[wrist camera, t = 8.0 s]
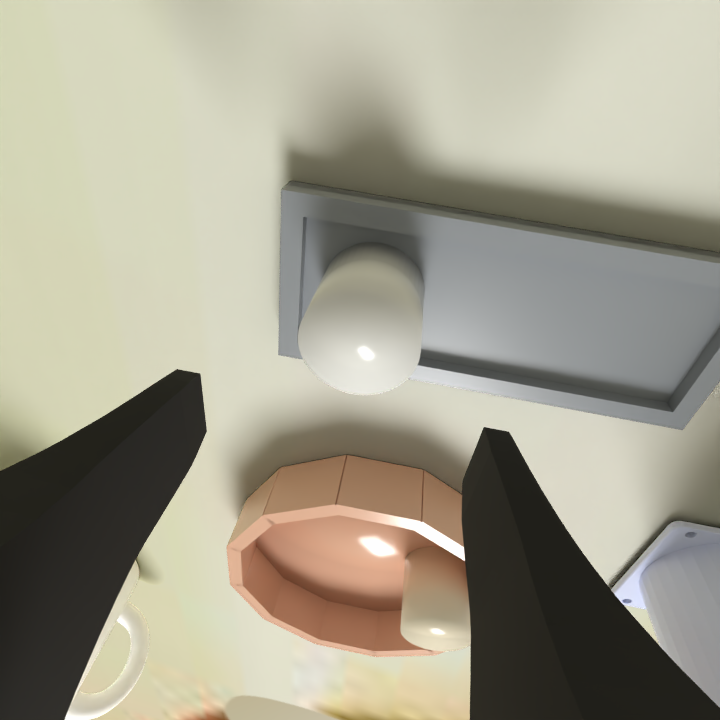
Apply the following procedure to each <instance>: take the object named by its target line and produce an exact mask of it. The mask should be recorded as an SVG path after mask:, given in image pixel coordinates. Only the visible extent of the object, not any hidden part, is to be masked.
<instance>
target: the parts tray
mask: <svg viewBox="0 0 720 720" xmlns="http://www.w3.org/2000/svg"><path fill="white" fill-rule="evenodd" d="M365 242H377V243H383V244H387V245H390V246H393V247H395V248H397V249H399V250H401V251H402V252H404V253H405V254H406V255H408V256H409V257H410V258H411V259H412V260H413V262H414V263H415V264H416V266H417V267H418V269H419V270H420V273H421V275H422V278H423V281H424V288H425V290H424V309H423V325H422V341H421V353H420V359H419V362H418V365H417V367H416V369H415V371H414V372H413V373H412V375H411V376H410V377H409V378H408V379H410V380H416V381H421V382H427V383H432V384H437V385H443V386H448V387H454V388H459V389H464V390H470V391H475V392H480V393H486V394H491V395H497V396H502V397H507V398H513V399H518V400H523V401H529V402H534V403H540V404H545V405H550V406H556V407H561V408H566V409H572V410H577V411H583V412H588V413H593V414H599V415H604V416H610V417H615V418H620V419H626V420H631V421H636V422H642V423H647V424H653V425H658V426H663V427H669V428H674V429H679V430H683V429H684V427H685V426H686V425H687V423H688V422H689V421H690V420H691V418H692V417H693V416H694V414H695V413H696V412H697V410H698V409H699V408H700V406H701V405H702V404H703V403H704V401H705V400H706V399H707V397H708V396H709V395H710V393H711V392H712V391H713V389H714V388H715V387H716V385H717V384H718V383H719V382H720V253H719V252H713V251H707V250H701V249H695V248H689V247H683V246H677V245H671V244H665V243H659V242H653V241H648V240H642V239H636V238H630V237H624V236H618V235H612V234H606V233H600V232H594V231H588V230H582V229H576V228H570V227H564V226H558V225H552V224H546V223H540V222H534V221H528V220H522V219H517V218H511V217H505V216H499V215H493V214H487V213H481V212H475V211H469V210H463V209H457V208H451V207H445V206H439V205H433V204H427V203H421V202H415V201H409V200H403V199H397V198H391V197H386V196H380V195H374V194H368V193H362V192H356V191H350V190H344V189H338V188H332V187H326V186H320V185H314V184H308V183H302V182H296V181H290V182H289V183H288V184H287V185H286V186H285V187H284V188H283V189H282V190H281V241H280V296H279V350H278V355H281V356H287V357H292V358H298V359H303V358H302V356H301V353H300V350H299V345H298V331H299V327H300V323H301V321H302V319H303V317H304V315H305V313H306V311H307V309H308V307H309V305H310V303H311V300H312V298H313V296H314V294H315V292H316V290H317V288H318V286H319V284H320V282H321V280H322V278H323V276H324V274H325V272H326V270H327V268H328V266H329V264H330V263H331V261H332V260H333V259H334V258H335V257H336V255H338V254H339V253H340V252H341V251H343V250H344V249H346V248H348V247H350V246H353V245H356V244H359V243H365Z"/></svg>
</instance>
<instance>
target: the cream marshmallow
mask: <svg viewBox="0 0 720 720" xmlns="http://www.w3.org/2000/svg"><path fill="white" fill-rule="evenodd" d="M400 631H401V634H402V636H403V637H404V638H405V639H406V640H407V641H409V642H410V643H412V644H414V645H416V646H418V647H421V648H424V649H429V650H434V651H456V650H460V649H464V648H466V647H468V646H470V645H471V626H470V608H469V597H468V587H467V576H466V565H465V561H464V560H462V559H461V558H459V557H457V556H456V555H454V554H453V553H451V552H449V551H448V550H446V549H444V548H443V547H423V548H419V549H416V550H414V551H412V552H410V553H409V554H408V555H407V557H406V558H405V566H404V581H403V597H402V612H401V628H400Z"/></svg>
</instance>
